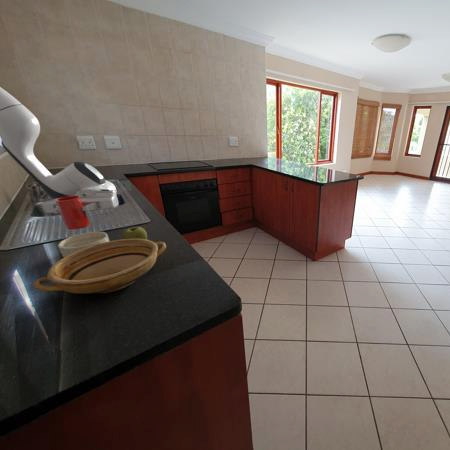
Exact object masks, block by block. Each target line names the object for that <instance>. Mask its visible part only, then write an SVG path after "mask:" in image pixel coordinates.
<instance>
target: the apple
mask: <svg viewBox="0 0 450 450" xmlns="http://www.w3.org/2000/svg"><path fill="white" fill-rule="evenodd" d="M121 239H145V240H148V233H147V231H146V230H145V228H143V227H141V226H131V227H128V228H127V229H125V230H123V232H122V234H121Z"/></svg>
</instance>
